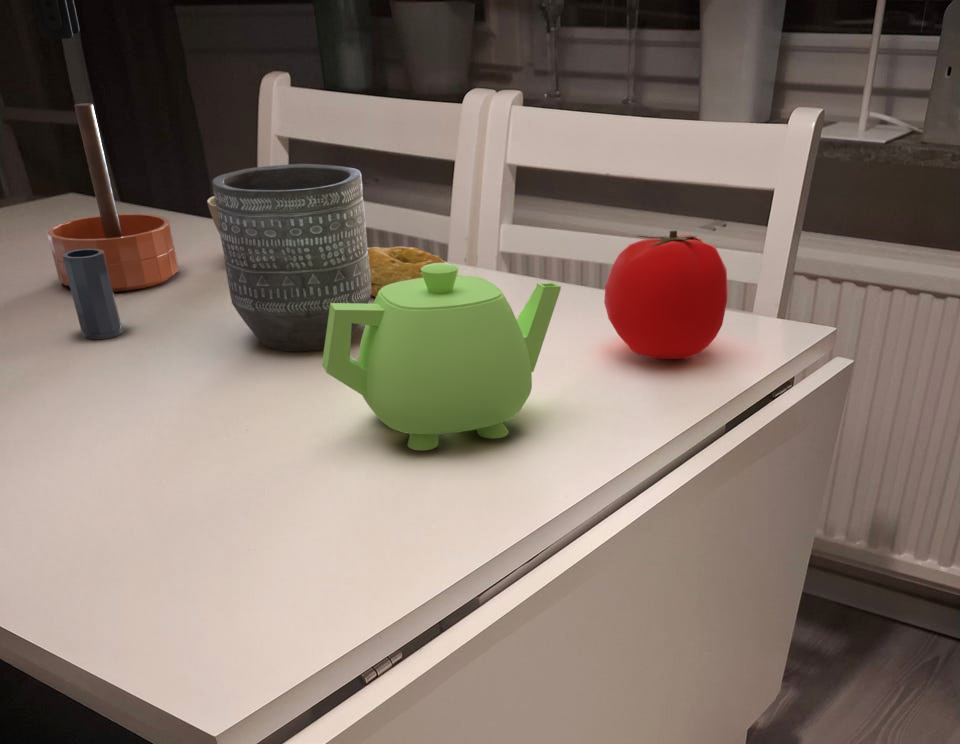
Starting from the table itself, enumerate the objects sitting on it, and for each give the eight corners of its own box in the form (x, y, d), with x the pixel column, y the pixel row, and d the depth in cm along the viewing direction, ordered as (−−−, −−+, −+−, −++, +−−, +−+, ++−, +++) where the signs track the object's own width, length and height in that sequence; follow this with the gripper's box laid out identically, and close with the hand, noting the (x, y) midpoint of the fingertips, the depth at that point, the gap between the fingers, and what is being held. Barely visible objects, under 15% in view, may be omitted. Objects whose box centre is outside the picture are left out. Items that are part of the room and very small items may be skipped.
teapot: (526, 383, 92) (527, 234, 85) (589, 434, 82) (597, 271, 75) (314, 415, 87) (294, 259, 79) (353, 475, 77) (335, 303, 69)
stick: (113, 276, 124) (73, 105, 113) (114, 272, 125) (75, 103, 114) (130, 274, 124) (92, 104, 113) (130, 270, 126) (93, 102, 115)
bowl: (56, 299, 118) (41, 244, 115) (66, 269, 129) (53, 218, 126) (179, 288, 121) (168, 234, 117) (178, 260, 132) (169, 210, 128)
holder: (82, 341, 105) (60, 259, 100) (84, 329, 109) (64, 250, 104) (121, 337, 106) (102, 256, 101) (123, 326, 109) (104, 247, 104)
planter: (211, 339, 105) (181, 178, 96) (319, 309, 113) (301, 158, 103) (293, 369, 97) (269, 197, 88) (403, 334, 105) (392, 173, 95)
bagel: (414, 308, 112) (411, 262, 109) (342, 294, 117) (337, 250, 114) (468, 288, 118) (467, 244, 115) (397, 275, 123) (394, 232, 121)
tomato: (703, 380, 92) (718, 249, 85) (585, 365, 96) (590, 238, 89) (734, 341, 100) (750, 219, 94) (624, 329, 104) (632, 211, 97)
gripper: (-12, -167, 105) (33, 32, 115) (-39, -185, 92) (15, 41, 102) (63, -166, 106) (101, 30, 117) (47, -184, 93) (92, 40, 103)
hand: (61, 35), depth 109 cm, fingers open, 9 cm apart
